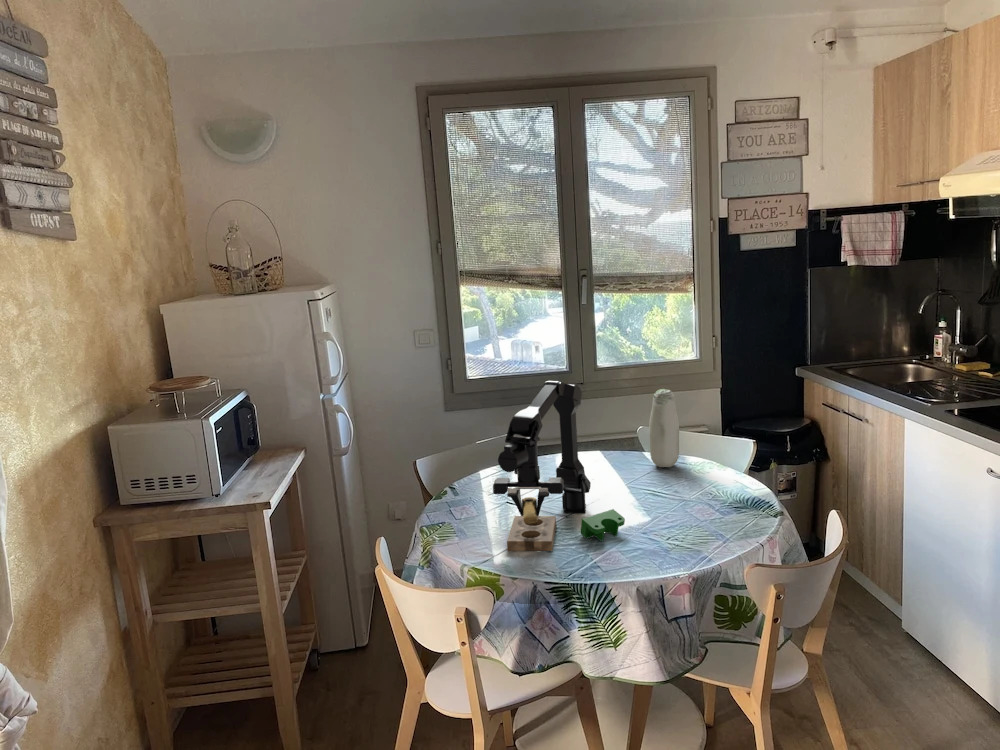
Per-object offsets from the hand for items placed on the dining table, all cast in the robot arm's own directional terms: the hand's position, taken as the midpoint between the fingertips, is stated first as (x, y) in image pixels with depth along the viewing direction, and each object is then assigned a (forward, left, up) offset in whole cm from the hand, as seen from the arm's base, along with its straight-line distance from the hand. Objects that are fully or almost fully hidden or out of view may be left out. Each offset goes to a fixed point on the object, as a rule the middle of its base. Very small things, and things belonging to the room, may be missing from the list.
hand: (530, 515), depth 201 cm
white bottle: (-41, -66, -9) cm, 78 cm away
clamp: (-20, -6, -9) cm, 22 cm away
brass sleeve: (0, 0, -2) cm, 2 cm away
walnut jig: (0, -4, -8) cm, 9 cm away
